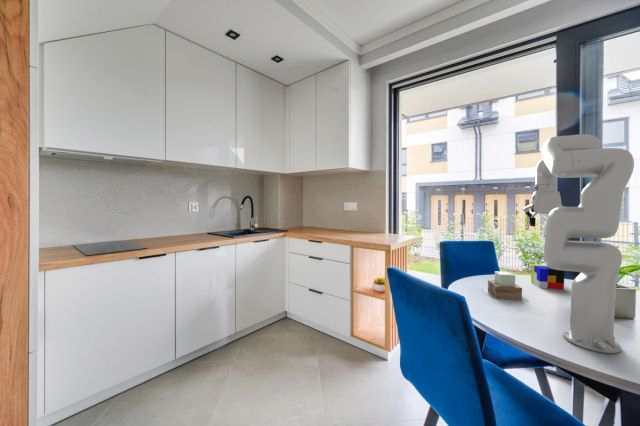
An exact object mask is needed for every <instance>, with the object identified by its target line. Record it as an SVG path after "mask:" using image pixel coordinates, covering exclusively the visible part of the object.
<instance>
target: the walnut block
mask: <svg viewBox="0 0 640 426" xmlns="http://www.w3.org/2000/svg"><path fill="white" fill-rule="evenodd" d="M494 281H495V279H494V280H492V279H488V280H487V289H488V291H489V292H490V293H491V294H492V295H494V296H495V297H496V298H508V299H521V300H522V297H523V288H522V287H521V286H520V285H518V284H517V283H515V286H500V285H498V284H497V283H496V282H494Z"/></svg>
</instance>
